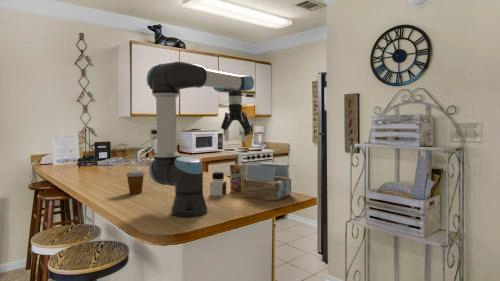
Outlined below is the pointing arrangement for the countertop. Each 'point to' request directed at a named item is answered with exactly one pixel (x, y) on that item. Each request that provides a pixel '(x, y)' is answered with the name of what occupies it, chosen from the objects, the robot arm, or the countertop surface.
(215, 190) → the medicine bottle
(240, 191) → the candy box
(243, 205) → the countertop surface
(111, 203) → the countertop surface
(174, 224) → the countertop surface
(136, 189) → the disposable coffee cup
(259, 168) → the near flap
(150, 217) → the countertop surface
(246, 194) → the carton
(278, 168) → the far flap
